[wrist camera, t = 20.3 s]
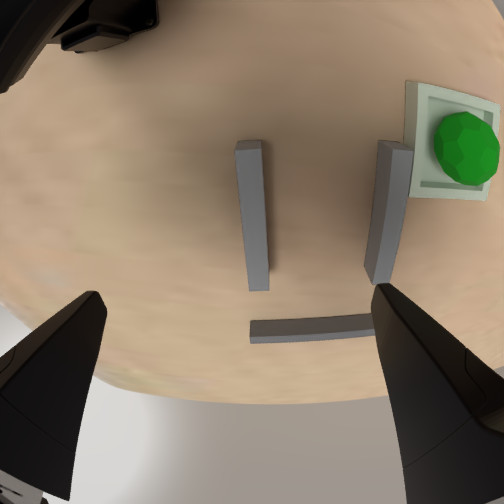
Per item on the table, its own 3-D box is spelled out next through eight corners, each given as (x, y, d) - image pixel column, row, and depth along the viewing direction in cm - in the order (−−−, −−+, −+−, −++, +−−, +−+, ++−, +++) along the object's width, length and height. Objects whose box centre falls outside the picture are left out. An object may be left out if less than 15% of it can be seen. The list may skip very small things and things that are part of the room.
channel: (230, 142, 18) (225, 151, 16) (403, 142, 17) (419, 151, 15) (251, 327, 28) (250, 347, 25) (370, 320, 27) (376, 339, 25)
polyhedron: (414, 160, 17) (450, 186, 13) (430, 96, 14) (471, 107, 10) (462, 177, 17) (498, 204, 13) (478, 120, 14) (519, 137, 11)
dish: (405, 80, 14) (417, 82, 13) (486, 100, 14) (500, 105, 12) (398, 187, 19) (408, 197, 17) (474, 191, 18) (486, 200, 17)
